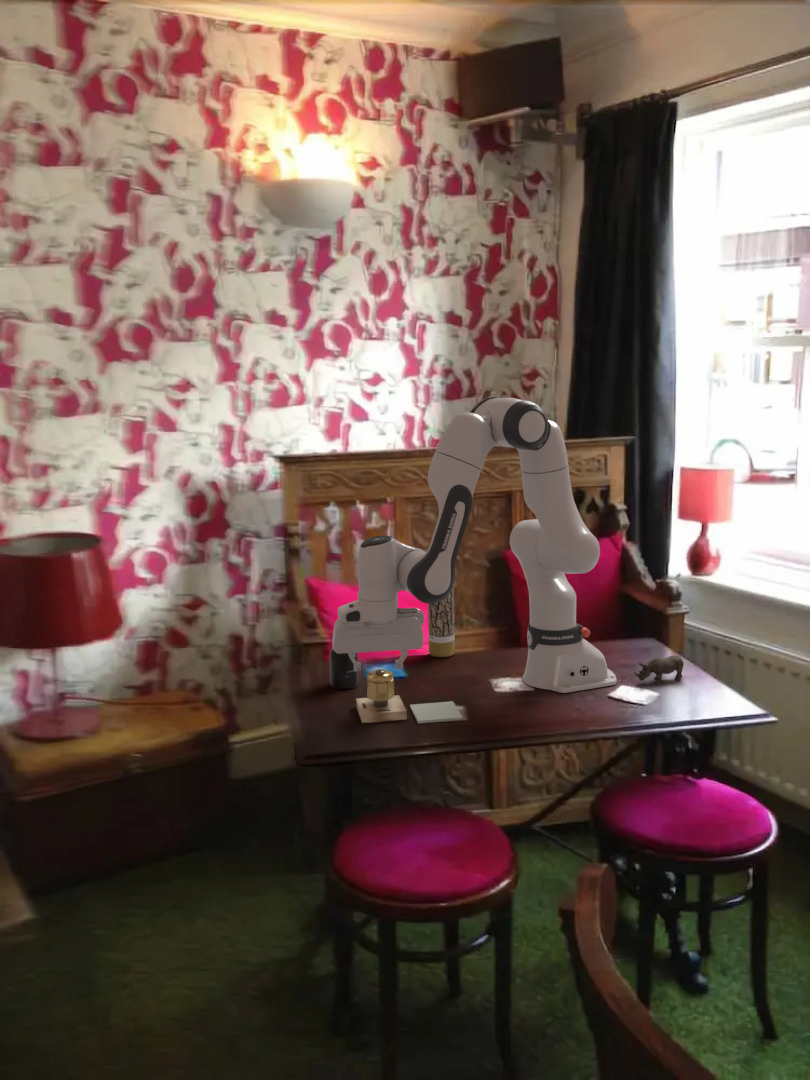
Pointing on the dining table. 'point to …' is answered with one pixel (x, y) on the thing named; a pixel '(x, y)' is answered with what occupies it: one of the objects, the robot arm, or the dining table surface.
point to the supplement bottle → (342, 671)
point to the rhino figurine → (661, 668)
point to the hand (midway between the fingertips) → (378, 669)
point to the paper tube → (442, 627)
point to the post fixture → (381, 709)
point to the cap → (380, 685)
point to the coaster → (436, 712)
